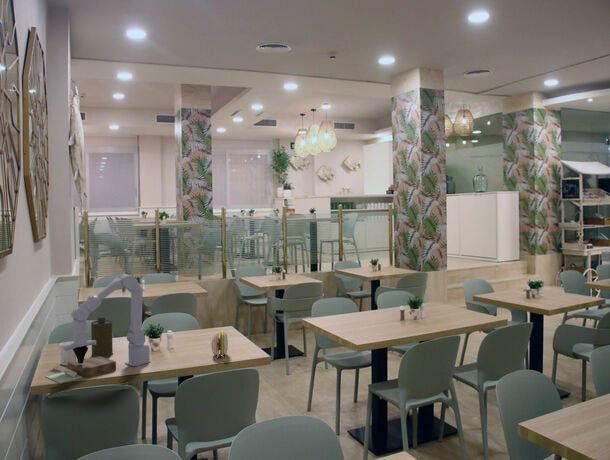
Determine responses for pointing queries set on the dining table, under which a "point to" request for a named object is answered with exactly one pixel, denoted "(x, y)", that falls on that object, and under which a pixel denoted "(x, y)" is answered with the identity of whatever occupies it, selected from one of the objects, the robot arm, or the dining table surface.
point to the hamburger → (219, 344)
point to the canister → (102, 337)
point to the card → (65, 370)
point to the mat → (63, 377)
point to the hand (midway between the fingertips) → (80, 363)
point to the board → (92, 366)
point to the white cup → (66, 354)
